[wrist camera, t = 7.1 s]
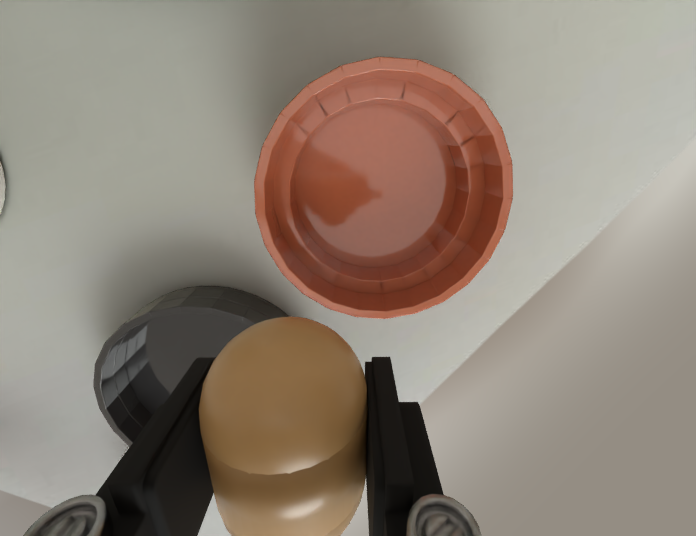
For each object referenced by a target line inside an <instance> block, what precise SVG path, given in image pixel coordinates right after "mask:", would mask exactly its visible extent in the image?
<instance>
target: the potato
mask: <svg viewBox="0 0 696 536" xmlns="http://www.w3.org/2000/svg"><path fill="white" fill-rule="evenodd" d="M199 420H200V432H201V436H202V441H203V445H204V450H205V454H206V459H207V463H208V468H209V472H210V477H211V481H212V486H213V490H214V495H215V499H216V503H217V507H218V510H219V513H220V515H221V517H222V519H223V522H224V524H225V526H226V529H227V530H228V532H229V533H230V534H231V535H232V536H340V535H341V534H342V533H343V531H344V530H345V528H346V527H347V526H348V525H349V523H350V521H351V519H352V518H353V516H354V514H355V512H356V510H357V507H358V506H359V504H360V501H361V497H362V493H363V490H364V485H365V479H366V463H367V421H368V394H367V385H366V380H365V375H364V372H363V370H362V367H361V364H360V362H359V360H358V358H357V356H356V355H355V353H354V352H353V350H352V349H351V347H350V346H349V344H348V343H347V342H346V341H345V340H344V339H343V338H342V337H341V336H339V335H338V334H337V333H336V332H335V331H333V330H332V329H330V328H329V327H327V326H325V325H323V324H320V323H318V322H316V321H313V320H310V319H306V318H300V317H280V318H273V319H269V320H265V321H262V322H259V323H257V324H254V325H252V326H250V327H249V328H247V329H246V330H244V331H242V332H241V333H240V334H238V335H237V336H235V337H234V338H233V339H232V340H231V341H230V342H228V343H227V345H226V346H225V347H224V348H223V350H222V351H221V352H220V353H219V355H218V356H217V357H216V358H215V360H214V361H213V363H212V365H211V368H210V370H209V372H208V374H207V376H206V378H205V381H204V383H203V387H202V393H201V398H200V404H199Z"/></svg>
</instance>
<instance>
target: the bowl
mask: <svg viewBox="0 0 696 536" xmlns="http://www.w3.org/2000/svg"><path fill="white" fill-rule="evenodd" d="M254 180H255V181H254V189H255V214H256V218H257V221H258V225H259V228H260V231H261V234H262V238H263V241H264V244H265V246H266V248H267V250H268V252H269V253H270V255H271V257H272V258H273V260H274V261H275V263H276V265H277V266H278V268H279V270H280V271H281V272H282V274H283V275H284V276H285V277H286V278H287V279H288V280H289V281H290V282H291V283H292V284H294V285H295V286H296V287H297V288H298V289H299V290H300V291H301V292H302V293H304V295H306V296H308V297H309V298H311V299H313V300H315V301H316V302H318V303H320V304H321V305H323V306H325V307H327V308H329V309H331V310H334V311H338V312H341V313H345V314H348V315H351V316H355V317H362V318H380V319H386V318H387V319H388V318H393V317H399V316H405V315H410V314H415V313H418V312H420V311H423V310H425V309H428V308H430V307H432V306H435V305H437V304H439V303H442V302H444V301H445V300H447V299H448V298H450V297H451V296H452V295H454V294H455V293H456V292H458V291H459V290H461V289H462V288H463V287H465V286H466V285H468V283H470V281H471V280H472V279H473V278H474V277H475V276H476V274H477V273H478V272H479V271H480V270H481V269H482V268H483V266H484V265H485V264H486V263H487V262H488V261H489V259H490V258H491V256H492V254H493V252H494V250H495V248H496V246H497V244H498V242H499V241H500V239H501V237H502V235H503V233H504V230H505V228H506V223H507V219H508V215H509V211H510V207H511V203H512V197H513V176H512V160H511V157H510V153H509V150H508V147H507V143H506V140H505V136H504V133H503V130H502V127H501V126H500V124H499V123H498V121H497V120H496V118H495V116H494V115H493V113H492V112H491V110H490V109H489V107H488V106H487V104H486V103H485V101H484V99H483V98H482V97H481V96H479V95H478V94H477V93H476V92H475V91H473V90H472V89H471V88H470V87H469V86H467V85H466V84H465V83H464V82H463V81H462V80H460V79H459V78H458V77H457V76H456V75H453V74H452V73H450V72H448V71H445V70H443V69H440V68H438V67H435V66H433V65H431V64H428V63H426V62H423V61H421V60H417V59H406V58H393V57H375V58H370V59H366V60H361V61H357V62H353V63H348V64H344V65H341V66H339V67H337V68H335V69H334V70H332V71H330V72H328V73H327V74H325V75H323V76H321V77H320V78H318V79H316V80H314V81H312V82H311V83H309V84H308V86H305V87H304V88H303V89H302V90H301V91H300V92H299V93H298V94H297V95H296V97H295V98H294V99H293V100H292V101H291V102H290V103H289V104H288V105H287V106H286V107H285V108H284V109H283V110H282V111H281V113H280V114H279V115H278V117H277V119H276V121H275V123H274V125H273V127H272V128H271V130H270V132H269V134H268V136H267V138H266V140H265V141H264V143H263V146H262V149H261V153H260V157H259V162H258V166H257V170H256V175H255V179H254Z"/></svg>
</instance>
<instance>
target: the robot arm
mask: <svg viewBox="0 0 696 536" xmlns="http://www.w3.org/2000/svg"><path fill="white" fill-rule="evenodd" d="M5 188H6V185H5V178H4V172H3V168H2V165H1V162H0V214H1V212H2V209H3V205H4V202H5ZM215 358H216V357H199V358H196V359H195V361H194V362H193V363H192V365H191V366H190V368H189V369H188V370H187V372H186V373H185V375H184V376H183V378H182V379H181V380H180V382H179V383H178V385H177V386H176V388H175V389H174V390H173V392H172V393H171V395H170V396H169V398H168V399H167V400H166V402H165V403H163V404H161V405H160V406H159V407H158V408H157V410H156V411H155V412H154V414H153V415H152V417H151V418H150V419H149V421H148V422H147V424H146V425H145V426H144V428H143V429H142V431H141V432H140V433H139V435H138V436H137V438H136V439H135V440H134V442H133V443H132V445H131V446H130V447H129V449H128V450H127V452H126V453H125V454H124V456H123V457H122V459H121V460H120V461H119V463H118V464H117V466H116V467H115V468H114V470H113V471H112V473H111V474H110V476H109V477H108V478H107V480H106V481H105V483H104V484H103V485H102V487H101V488H100V490H99V491H98V492H97V494H96V495H81V496H78V497H74V498H71V499H68V500H66V501H64V502H62V503H61V504H59V505H57V506H55V507H53V508H52V509H51V510H49V511H48V512H46V513H45V514H44V515H42V516H41V517H40V518H39V519H38V520H37V521H36V522H35V523H34V524H33V525H32V526H31V527H30V528H29V529H28V530H27V532H26V533H25V534H24V535H23V536H197V535H198V532H199V530H200V527H201V524H202V522H203V519H204V516H205V514H206V511H207V509H208V506H209V503H210V501H211V498H212V496H213V493H214V490H213V486H212V481H211V477H210V472H209V468H208V463H207V459H206V454H205V450H204V445H203V441H202V436H201V432H200V420H199V404H200V398H201V393H202V387H203V383H204V381H205V378H206V376H207V374H208V372H209V370H210V368H211V365H212V363H213V361H214V360H215ZM365 380H366V385H367V394H368V421H367V463H366V482H367V501H368V519H369V536H481V532H480V529H479V526H478V524H477V522H476V521H475V519H474V517H473V515H472V514H471V513H470V512H469V511H468V510H467V509H466V508H465V507H464V505H462V504H461V503H459V502H458V501H456V500H455V499H453V498H451V497H447V496H445V495H443V491H442V487H441V483H440V480H439V476H438V472H437V468H436V465H435V461H434V457H433V454H432V450H431V446H430V442H429V439H428V435H427V431H426V428H425V424H424V420H423V417H422V413H421V409H420V406H419V404H418V402H399V401H398V396H397V390H396V385H395V380H394V375H393V370H392V364H391V359H390V357H372V362H365Z"/></svg>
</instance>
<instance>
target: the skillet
mask: <svg viewBox="0 0 696 536" xmlns="http://www.w3.org/2000/svg"><path fill="white" fill-rule="evenodd" d="M280 317H289V316H288V315H287V314H286V313H284V312H283V311H282V310H281V309H279V308H278V307H276V306H275V305H273V304H271V303H270V302H268V301H266V300H264V299H262V298H260V297H258V296H256V295H253V294H250V293H247V292H244V291H241V290H237V289H232V288H227V287H219V286H197V287H189V288H184V289H180V290H176V291H173V292H170V293H168V294H166V295H163V296H161V297H159V298H158V299H156V300H154V301H153V302H151V303H150V304H148V305H146V306H145V307H144V308H142V309H141V310H140V311H139V312H138V313H136V314H135V315H134V316H133V317H132V318H130V319H129V320H128V321H127V322H126V323H124V324H123V325H122V326H121V327H120V328H119V329H118V330H117V331H116V332H115V333H114V334H113V335H112V336H111V337H110V338H109V339H108V340H107V341H106V342H105V344H104V346H103V348H102V350H101V352H100V354H99V356H98V359H97V361H96V363H95V372H94V390H95V394H96V398H97V401H98V405H99V409H100V410H101V412H102V414H103V415H104V417H105V418H106V420H107V422H108V423H109V425H110V427H111V428H112V429H113V431H114V432H115V433H116V434H117V435H118V436H119V437H120V438H121V439H122V440H123V441H124V442H125V443H126V444H127V445H128V446H129V447H130V446H131V445H132V443H133V442H134V440H135V439H136V438H137V436H138V435H139V433H140V432H141V431H142V429H143V428H144V426H145V425H146V424H147V422H148V421H149V419H150V418H151V417H152V415H153V414H154V412H155V411H156V410H157V408H158V407H159V406H160V405H161V404H163V403H165V402H166V400H167V399H168V398H169V396H170V395H171V393H172V392H173V390H174V389H175V388H176V386H177V385H178V383H179V382H180V380H181V379H182V378H183V376H184V375H185V373H186V372H187V370H188V369H189V368H190V366H191V365H192V363H193V362H194V361H195V359H196V358H199V357H217V356H218V355H219V353H220V352H221V351H222V350H223V348H224V347H225V346H226V345H227V343H228V342H230V341H231V340H232V339H233V338H234V337H235V336H237V335H238V334H240V333H241V332H242V331H244V330H246V329H247V328H249V327H250V326H252V325H254V324H257V323H259V322H262V321H265V320H269V319H273V318H280Z"/></svg>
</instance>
